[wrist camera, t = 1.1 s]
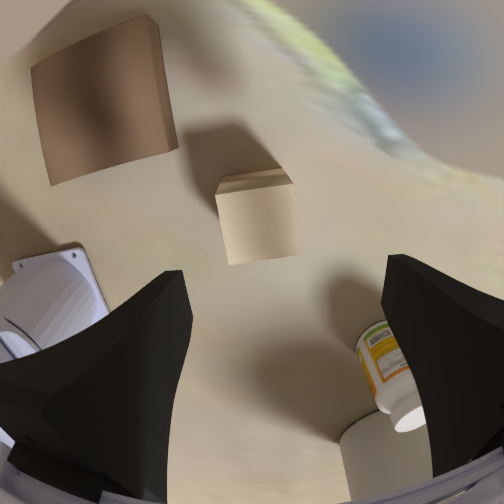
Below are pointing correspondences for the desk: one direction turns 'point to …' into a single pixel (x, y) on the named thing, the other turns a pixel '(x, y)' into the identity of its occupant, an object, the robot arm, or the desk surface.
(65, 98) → the walnut block
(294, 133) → the desk surface
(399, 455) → the cylinder vase
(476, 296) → the robot arm
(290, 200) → the maple block
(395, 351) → the supplement bottle
